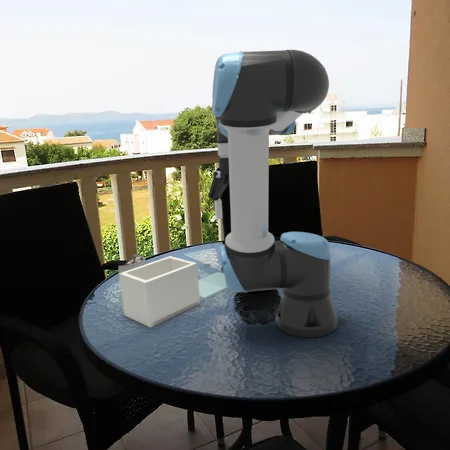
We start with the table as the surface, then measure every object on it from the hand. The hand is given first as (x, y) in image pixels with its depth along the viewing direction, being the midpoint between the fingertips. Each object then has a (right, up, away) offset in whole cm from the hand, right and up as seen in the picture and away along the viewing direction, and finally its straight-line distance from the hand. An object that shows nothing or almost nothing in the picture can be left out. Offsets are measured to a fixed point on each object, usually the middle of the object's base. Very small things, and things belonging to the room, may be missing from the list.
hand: (233, 221), depth 137 cm
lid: (-5, -20, -1) cm, 21 cm away
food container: (-31, -22, -3) cm, 38 cm away
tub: (-21, -26, -19) cm, 38 cm away
